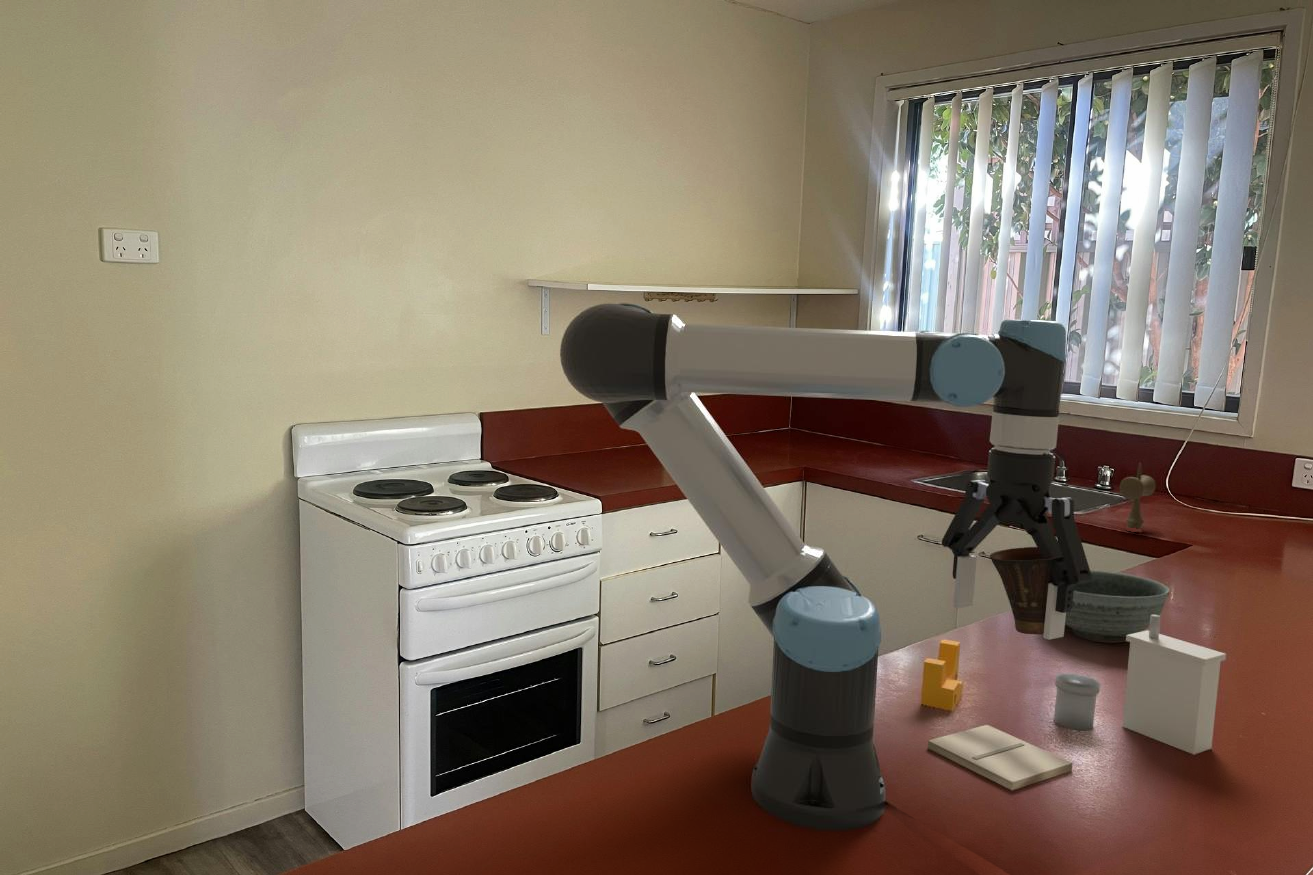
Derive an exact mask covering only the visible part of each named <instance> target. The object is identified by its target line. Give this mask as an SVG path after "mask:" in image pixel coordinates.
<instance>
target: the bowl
mask: <svg viewBox="0 0 1313 875" xmlns="http://www.w3.org/2000/svg"><path fill="white" fill-rule="evenodd" d="M1090 572H1091V575H1092V580H1091V581H1090V582H1085V583H1079V584H1076V585H1075V587H1074V594H1073V603H1072V609H1071V611H1070V612H1066V617H1065V626H1067V627H1069V628H1071V630H1072V633H1073V634H1074V635H1076V636H1077V637H1080V638H1082V639H1085V640H1089V641H1092V642H1097V643H1098V642H1101V643H1123V642H1127V641H1126V635H1129V634H1133V633H1138V632H1142V631H1146V630H1147V629H1148V628H1150V618H1151V615H1159V616H1160V615H1161V613H1162V612H1163V610H1164V607H1165V605H1166V601H1167V598H1168V597H1169V596H1170V593H1171V590H1170V588H1169V587H1168V586H1167V585H1166V584H1164V583H1161V582H1160V581H1157V580H1153V579H1151V578H1146V577H1142V576H1137V575H1133V574H1128V573H1123V572H1114V571H1107V570H1105V571H1104V570H1095V569H1094V570H1092V569H1090Z"/></svg>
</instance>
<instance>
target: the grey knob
mask: <svg viewBox="0 0 1313 875" xmlns="http://www.w3.org/2000/svg"><path fill="white" fill-rule="evenodd" d="M1054 686H1055V687H1056V694H1055V704H1054V713H1053V714H1054V715H1053V721H1054V722H1055V723H1056V724H1057V725H1059V726H1060V727H1062V728H1063V727H1064V728H1066V729H1070V730H1075V731H1090V730H1091V729H1093V728H1094V724H1095V723H1094V722H1095V712H1096V703H1097V695H1098V694H1099V693H1100V688H1101V683H1100V682H1099V681H1098V680H1096V679H1095V678H1093V677H1090V676H1087V675H1083V674H1079V673H1071V672H1063V673H1058V674H1056V676H1055V681H1054Z"/></svg>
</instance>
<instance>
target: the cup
mask: <svg viewBox="0 0 1313 875" xmlns="http://www.w3.org/2000/svg"><path fill="white" fill-rule="evenodd" d="M989 557H990V559H991V562H992V564H993V565H994V568H995V569H996V571H997V573H998V576H999V577H1000V579H1001V582H1002V584H1003V588H1004V590H1005V594H1006V596H1007V598H1008V601H1009V606H1010V607H1011V608H1010V609H1011V612H1012V614H1013V618H1014V619H1013V620H1014V625H1015V626H1014V628H1015V631H1016V632H1018V633H1020V634H1023V635H1024V634H1025V635H1044V625H1045V615H1046V605H1047V595H1048V585H1049V583H1054V582H1055V580H1054V578H1053V576H1052V574H1051V570H1052V567H1053V564H1054V561H1056V562H1063V561H1064V559H1063V556H1061V557H1055V558H1051V559H1043V557H1042V555H1041V553H1040V551H1039V549H1038V548H1037V546H1027V547H1026V546H1024V547H1015V548H1007V549H1003V550H998V551H995V552H992V553H991V554H990V555H989Z"/></svg>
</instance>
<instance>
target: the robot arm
mask: <svg viewBox="0 0 1313 875" xmlns="http://www.w3.org/2000/svg"><path fill="white" fill-rule="evenodd" d="M1066 345H1067V331H1066V327H1065V326H1064V325H1063V324H1062V323H1061V322H1059V321H1055V320H1053V321H1052V320H1032V319H1030V320H1029V319H1015V318H1014V319H1013V318H1012V319H1008V318H1007V319H1004V320H1002V321H1001V324H1000V328H999V330H998V331H997V334H996V333H994V334H979V333H965V332H963V333H960V332H959V333H958V332H945V331H930V330H926V329H925V330H920V331H916V330H915V331H911V330H910V331H908V330H907V331H906V330H905V331H887V330H861V329H835V328H834V329H833V328H831V329H830V328H807V327H806V328H804V327H782V326H780V327H779V326H749V325H726V324H725V325H724V324H721V325H720V324H698V323H697V324H695V323H684V322H683V321H682V320H681V319H680V317H678V316H677V315H676V314H674V313H673V314H669V313H654V312H653V311H651V310H649V309H647V308H645V307H643V306H641V305H637V304H635V303H634V304H633V303H625V302H623V303H601V304H596V305H594V306H591V307H588V308H586V309H584V310H583V311H581V312H580V313H579V314H577V316H575V317H574V318H573V319H572V320H571V321H570V322H569V324H568V326H567V327H566V329H565V331H564V333H563V336H562V339H561V343H560V350H559V357H560V358H559V359H560V364H561V367H562V370H563V373H564V375H565V377H566V379H567V381H568V382H569V384H570V385H571V386H572V387H573V388H574V389H575V390H576V391H577V392H578V393H579V394H581V395H582V396H584V398H585V397H586V398H587V399H589V400H592V401H594V402H598V403H602V405H603V406H604V407H605V408H606V411H607V412H608V413H609V414H610V416H611V417H612V418H613V420H614V421H615V423H616V424H617V426H619V428H621V429H623V430H624V429H625V430H630V431H635V432H636V433H638V434H640V436H641V437H642V439H643V440H644V441H645V443H646V444H647V446H648V447H649V449H650V450H651V451H652V453H653V454H654V455H655V456H656V458H657V459H658V460H659V462H660V463H661V464H662V466H663V468H665V470H666V471H667V473H668V474H669V476H670V477H671V479H672V480H673V482H674V483H675V484H676V485H677V486H678V488H679V489H680V491H681V492H682V494H683V495H684V496H685V498H686V499H687V500H688V502H689V503H690V505H691V506H692V507H693V509H694V511H695V512H697V515H699V517H700V518H701V520H702V521H703V522H704V524H705V525H706V527H707V528H708V529H709V531H710V532H711V533H712V535H713V536H714V538H715V539H716V540H717V541H718V543H719V545H720V546H721V547H722V548H723V550H724V551H725V553H726V554H727V555H728V557H729V558H730V559H731V561H732V562H733V564H734V565H735V566H736V568H737V569H738V570H739V572H740V573H741V575H742V576H743V578H744V579H745V581H747V583H748V584H749V591H748V592H749V593H748V600H747V603H748V604H749V606H750V607H751V609H752V610H753V611H754V613H755V614H756V615H757V617H758V618H759V620H760V621H761V622H762V624H763V625H764V627H765V628H766V630H768V632H769V633H770V635H771V636H772V638H773V649H772V650H773V651H772V652H773V653H772V654H773V655H772V672H771V692H770V711H769V712H770V714H769V729H768V733H767V736H766V737H765V741H764V744H763V746H762V750H761V753H760V756H759V759H758V761H757V762H756V764H755V765H754V768H753V769H752V770H753V771H752V774H751V785H750V787H751V790H750V791H751V795H752V797H753V799H754V801H756V803H757V804H758V806H760V808H761V809H763V810H764V811H766V812H767V813H769V814H771V816H773V817H775V818H777V819H779V820H782V821H784V822H787V823H789V824H791V825H795V826H799V827H802V828H807V829H812V830H817V831H831V832H832V831H833V832H839V831H841V832H842V831H843V832H845V831H850V830H858V829H861V828H865V827H868V826H870V825H871V824H874V823H876V822H877V821H878V820H880V818H881V817H882V816H883V814H884V811H885V806H886V794H887V793H886V790H887V789H886V785H885V780H884V779H883V777H882V774H881V766H880V761H879V757H878V755H877V750H876V747H875V743H874V728H875V716H876V715H875V713H876V696H877V679H878V665H879V664H878V662H879V649H880V644H881V643H882V628H881V623H880V621H881V619H880V613H879V611H878V609H877V607H876V606H875V604H874V603H873V602H871V600H870V599H869V598H868V597H865V596H863V595H862V593H861V591H860V590H859V589H858V588H857V586H856V585H855V584H854V582H852V581H851V580H849V578H848V577H847V576H844V575H843V574H842V572H841V571H840V570H839V569H838V567H837V566H836V565H835V563H834V562H833V560H832V559H831V558H830V557H829V555H828V554H827V552H826V551H825V550H824V549H823V548H822V547H815V546H810V545H807V544H805V543H804V541H803V540H802V538H800V536H799V534H798V533H797V532H796V530H795V529H794V527H793V526H792V525H791V524H790V522H789V521H788V520H787V518H786V516H785V515H784V514H783V513H782V511H781V510H780V509H779V506H777V504H776V503H775V501H774V500H773V499H772V497H771V496H770V495H769V493H768V492H767V491H766V489H765V488H764V486H763V485H762V484H761V482H760V481H759V480H758V478H757V477H756V475H755V474H754V473H753V471H752V470H751V468H750V467H749V466H748V464H747V463H746V461H745V460H744V459H743V458H742V456H741V455H740V454H739V452H738V451H737V449H736V448H735V447H734V445H733V443H732V442H731V441H730V440H729V438H728V437H727V436H726V433H724V431H723V430H722V429H721V427H720V426H719V424H718V423H717V422H716V420H715V419H714V417H713V416H712V414H710V412H709V411H708V410H707V408H706V406H705V405H704V404H703V403H702V401H701V400H700V399H699V397H698V396H697V395H696V393H701V394H702V393H703V394H705V393H708V394H723V395H724V394H726V395H728V394H729V395H752V396H755V395H756V396H775V397H776V396H777V397H780V396H781V397H799V398H801V397H803V398H825V399H847V400H850V399H852V400H872V401H873V400H875V401H878V400H879V401H893V402H894V401H898V402H915V403H932V404H933V403H935V404H949V405H951V406H953V407H957V408H966V407H974V406H979V405H981V404H984V403H986V402H988V401H989V400H990V399H991V398H993V406H992V416H991V425H990V435H989V442H990V443H991V445H992V446H994V447H992V448H991V449H990V450H989V451H988V457H987V458H988V459H987V460H988V461H987V470H986V471H987V472H986V475H987V477H988V478H989V483H988V481H987V480H985V479H977V480H968V481H967V483H966V487H965V492H964V497H963V500H962V501H961V502H960V504H959V507H958V509H957V511H956V512H955V515H954V516H953V518H952V520H951V522H950V524H949V526H948V528H947V530H946V531H945V533H944V535H943V537H942V539H941V545H942V546H943V547H944V548H948V549H949V550H950V551H952V555H953V562H952V578H953V579H954V580H955V586H954V596H953V597H954V598H953V607H954V608H956V609H961V608H966V607H973V605H974V604H973V603H974V591H975V581H976V572H977V571H976V570H977V561H978V560H977V559H978V555H977V556H976V555H973V554H974V553H975V552H976V551H974V550H975V549H976V548H977V547H978V546H979V545H980V544H981V543H982V542H983V541H984V540H985V539H986V538H987V536H988V535H989V534H990V533H992V532H993V530H995V528H996V527H997V526H998V525H999V524H1000V525H1001V524H1002V525H1011V526H1013V527H1015V528H1018V529H1024V530H1025V532H1026V533H1027V535H1030V537H1031V538H1032V540H1033V542H1034V544H1035V547H1037V548H1038V549H1039V551H1040V553H1041V555H1042V557H1043V559H1051V558H1055V557H1061V556H1063V559H1064V561H1063V562H1056V561H1054V564H1053V567H1052V570H1051V574H1052V576H1053V578H1054V580H1055V582H1054V583H1049V585H1048V595H1047V605H1046V615H1045V625H1044V634H1042V635H1043V639H1045V640H1053V639H1059V638H1060V639H1061V638H1064V635H1065V626H1066V625H1065V617H1066V612H1070V611H1071V609H1072V603H1073V594H1074V587H1075V585H1076V584H1079V583H1085V582H1090V581H1091V580H1092V575H1091V572H1090V570H1091V568H1090V565H1089V563H1088V558H1087V556H1086V552H1085V550H1084V546H1083V543H1082V540H1081V539H1082V538H1081V536H1080V533H1079V530H1078V526H1077V524H1076V520H1075V517H1074V516H1075V501H1074V499H1073V498H1072V497H1061V498H1057V497H1056V498H1055V497H1054V498H1053V497H1051V494H1050V493H1051V492H1050V488H1051V485H1052V483H1053V482H1054V474H1055V462H1056V456H1055V454H1054V453H1052V452H1051V451H1052V450H1054V449H1056V448H1057V441H1058V432H1059V431H1058V430H1059V429H1058V428H1059V420H1060V408H1061V407H1060V404H1061V398H1062V389H1063V380H1064V373H1065V366H1066V364H1067V360H1066ZM986 498H987V500H988V502H989V505H988V506H987V507H986V508H985V509H984V510H983V511H982V512H981V513H980V510H981V508H982V506H983V505H984V504H983V503H984V502H985V500H986ZM1046 512H1047V513H1048V514H1049V515H1050V516H1051V520H1050V518H1049V517H1048V515H1047V513H1046ZM978 513H980V515H979V516H980V517H979V518H978V519H977V520H976V521H975V519H976V518H977V515H978ZM974 521H975V522H974ZM1051 521H1052V522H1051ZM1053 529H1054V531H1053ZM1054 532H1055V533H1054Z"/></svg>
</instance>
